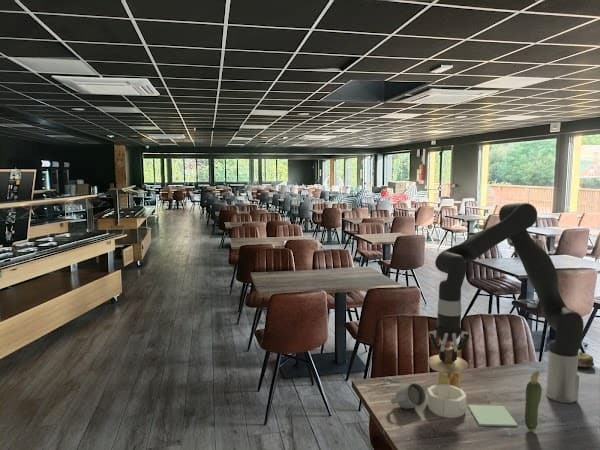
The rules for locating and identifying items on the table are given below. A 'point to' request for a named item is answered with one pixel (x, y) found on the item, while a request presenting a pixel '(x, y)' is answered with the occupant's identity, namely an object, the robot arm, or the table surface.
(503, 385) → the table surface
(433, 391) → the bowl
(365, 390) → the table surface
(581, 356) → the cake
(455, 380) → the candy box
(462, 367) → the lid
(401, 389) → the ceramic mug
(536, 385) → the vegetable
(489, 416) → the mat
